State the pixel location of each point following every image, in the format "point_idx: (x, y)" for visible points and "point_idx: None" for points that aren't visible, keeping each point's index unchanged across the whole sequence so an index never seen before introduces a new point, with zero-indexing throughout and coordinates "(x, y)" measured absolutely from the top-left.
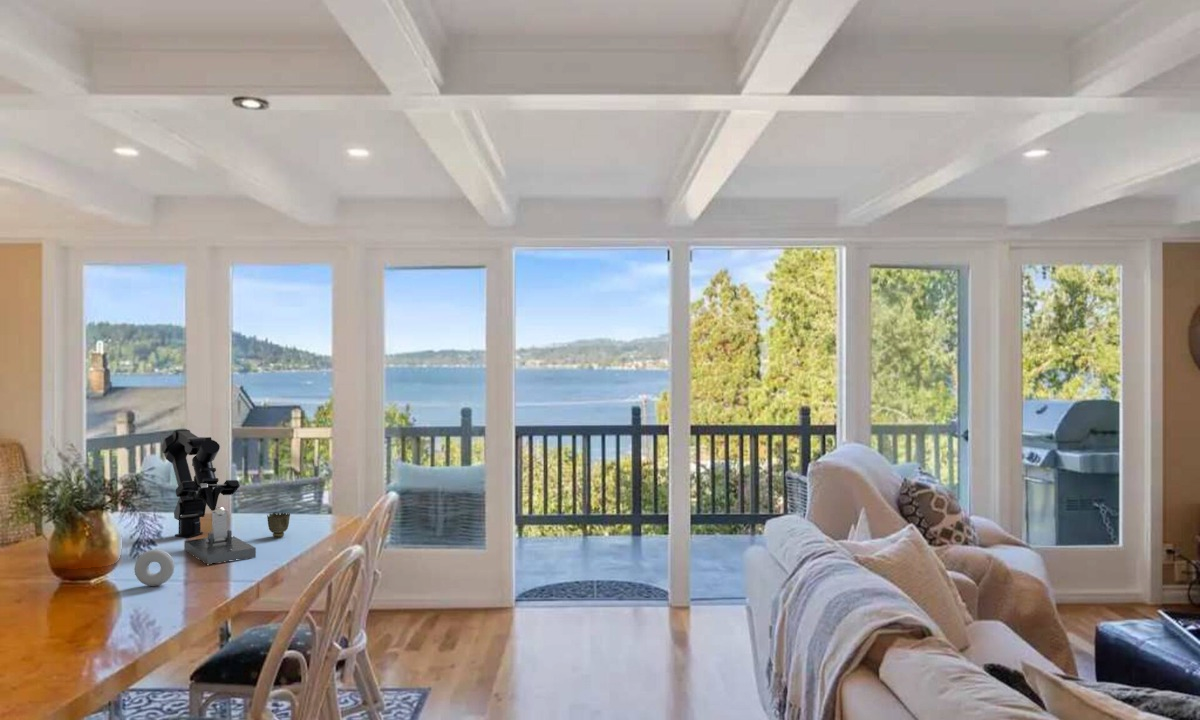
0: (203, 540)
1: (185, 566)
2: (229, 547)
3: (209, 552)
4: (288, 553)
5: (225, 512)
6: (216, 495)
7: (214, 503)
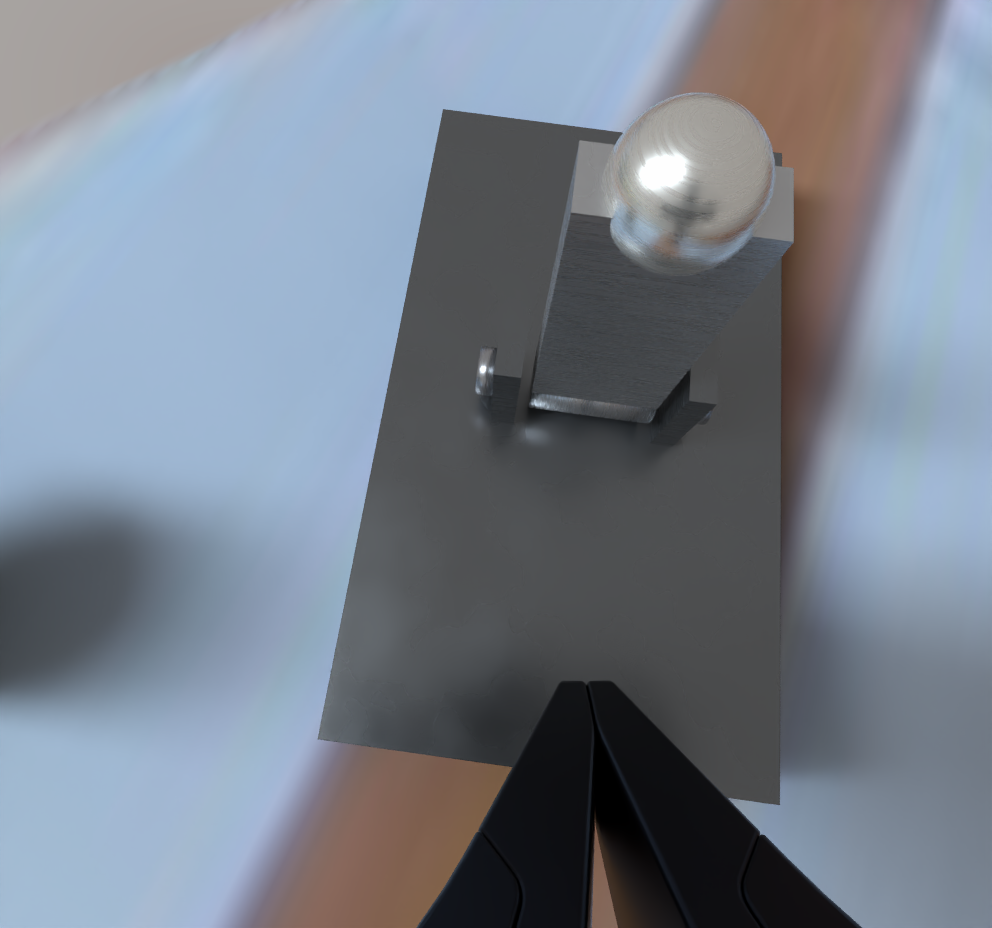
0: (629, 669)
1: (864, 279)
2: None
3: None
4: (255, 103)
5: (605, 160)
6: (518, 922)
7: (587, 743)
